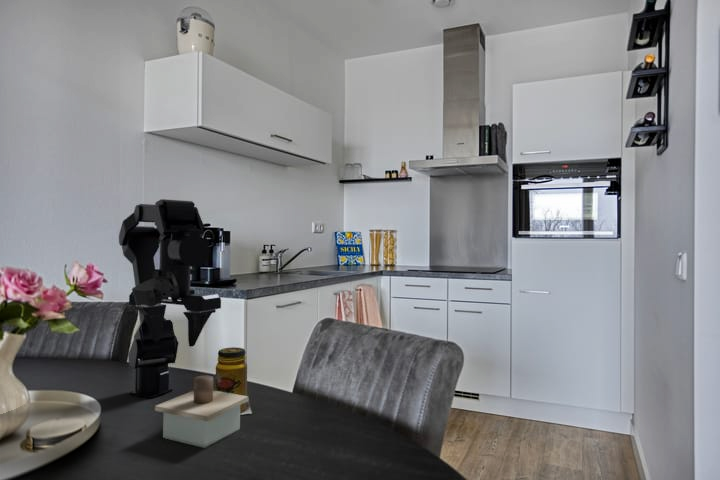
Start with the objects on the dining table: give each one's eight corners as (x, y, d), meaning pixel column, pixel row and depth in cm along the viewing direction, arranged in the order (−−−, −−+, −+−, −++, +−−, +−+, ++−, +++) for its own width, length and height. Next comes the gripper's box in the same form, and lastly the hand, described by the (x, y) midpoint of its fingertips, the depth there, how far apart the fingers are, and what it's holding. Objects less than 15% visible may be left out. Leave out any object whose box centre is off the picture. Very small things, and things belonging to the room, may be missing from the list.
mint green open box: (163, 439, 83) (163, 409, 83) (200, 421, 91) (201, 394, 91) (204, 449, 79) (205, 418, 79) (239, 430, 87) (240, 402, 87)
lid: (154, 410, 82) (155, 382, 82) (200, 392, 92) (200, 366, 92) (207, 421, 78) (207, 391, 78) (248, 400, 88) (249, 374, 88)
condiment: (212, 418, 92) (213, 354, 92) (212, 403, 101) (213, 345, 101) (251, 414, 95) (253, 352, 95) (248, 400, 103) (249, 343, 103)
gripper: (105, 263, 92) (103, 346, 92) (180, 267, 85) (179, 358, 85) (152, 261, 103) (151, 336, 103) (223, 265, 95) (222, 345, 95)
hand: (173, 343), depth 96 cm, fingers open, 9 cm apart
